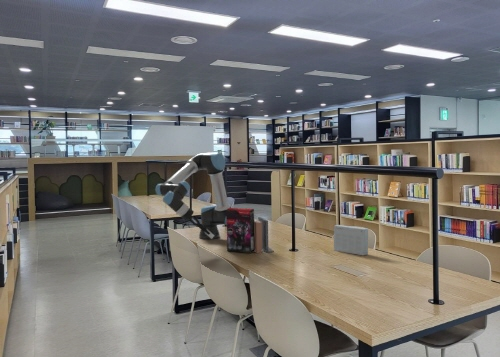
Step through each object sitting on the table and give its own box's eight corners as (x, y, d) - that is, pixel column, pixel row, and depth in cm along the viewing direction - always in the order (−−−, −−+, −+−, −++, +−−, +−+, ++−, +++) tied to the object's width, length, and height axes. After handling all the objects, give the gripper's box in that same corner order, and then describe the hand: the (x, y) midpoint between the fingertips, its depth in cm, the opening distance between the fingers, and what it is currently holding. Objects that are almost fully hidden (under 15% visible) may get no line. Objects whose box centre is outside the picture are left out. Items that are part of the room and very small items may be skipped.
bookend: (258, 246, 262) (258, 216, 261) (266, 246, 264) (265, 216, 262) (266, 252, 247) (265, 220, 246) (274, 252, 248) (273, 220, 247)
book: (250, 248, 259) (250, 219, 258) (256, 247, 260) (255, 219, 259) (256, 252, 247) (256, 222, 246) (262, 252, 248) (261, 222, 247)
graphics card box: (226, 251, 251) (225, 208, 250) (231, 249, 258) (230, 207, 256) (251, 253, 245) (250, 210, 243) (255, 251, 251) (254, 208, 249)
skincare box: (368, 254, 240) (368, 228, 239) (364, 256, 236) (364, 229, 235) (337, 248, 254) (337, 224, 253) (333, 250, 250) (333, 225, 249)
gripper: (179, 215, 245) (206, 239, 251) (181, 218, 233) (210, 244, 238) (187, 206, 246) (215, 230, 252) (190, 208, 234) (219, 234, 240)
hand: (212, 237), depth 245 cm, fingers closed
